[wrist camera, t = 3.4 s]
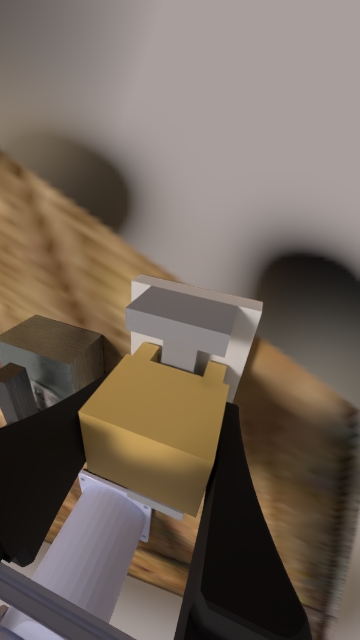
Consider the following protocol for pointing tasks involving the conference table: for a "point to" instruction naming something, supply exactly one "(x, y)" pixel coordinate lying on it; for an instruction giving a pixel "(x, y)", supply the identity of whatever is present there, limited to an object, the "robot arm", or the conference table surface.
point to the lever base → (53, 357)
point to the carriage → (156, 428)
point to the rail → (191, 335)
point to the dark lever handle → (16, 394)
